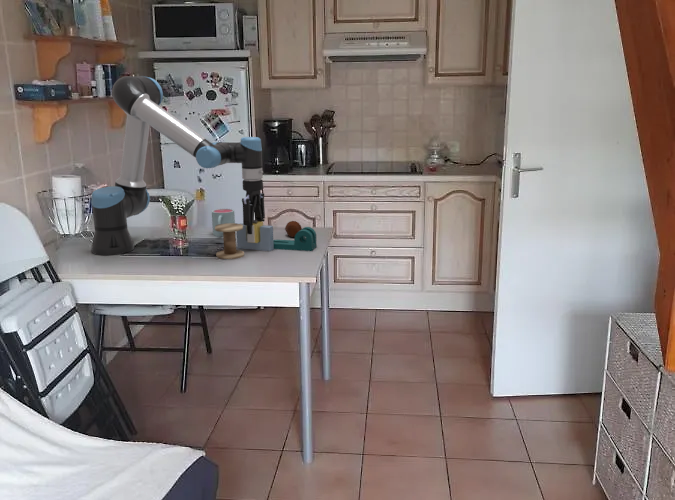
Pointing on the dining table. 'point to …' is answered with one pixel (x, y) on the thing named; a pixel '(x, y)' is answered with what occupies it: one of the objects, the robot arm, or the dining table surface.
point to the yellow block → (257, 230)
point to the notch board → (264, 244)
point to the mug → (222, 219)
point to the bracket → (299, 241)
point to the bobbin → (229, 241)
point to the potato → (292, 228)
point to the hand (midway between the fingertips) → (255, 240)
